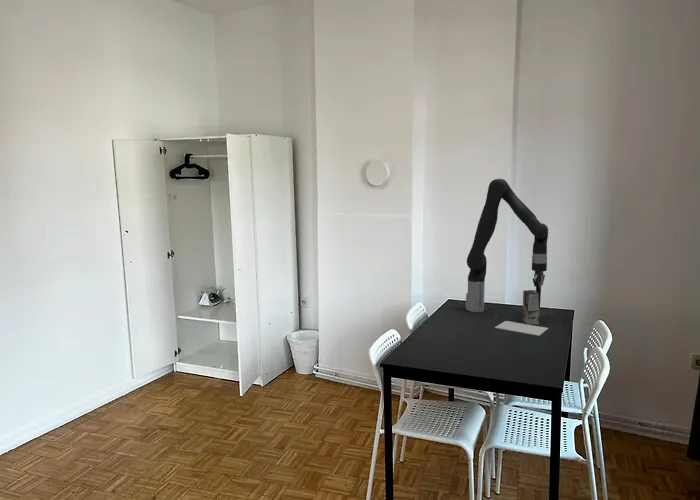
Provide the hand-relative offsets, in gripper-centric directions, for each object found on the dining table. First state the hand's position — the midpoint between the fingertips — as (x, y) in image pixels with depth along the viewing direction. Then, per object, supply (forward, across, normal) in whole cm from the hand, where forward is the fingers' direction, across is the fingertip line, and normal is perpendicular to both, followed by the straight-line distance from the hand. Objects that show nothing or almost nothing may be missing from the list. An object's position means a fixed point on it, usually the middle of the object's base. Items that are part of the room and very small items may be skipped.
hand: (538, 293), depth 279 cm
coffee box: (+13, +10, 0) cm, 17 cm away
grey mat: (+13, +24, 0) cm, 27 cm away
